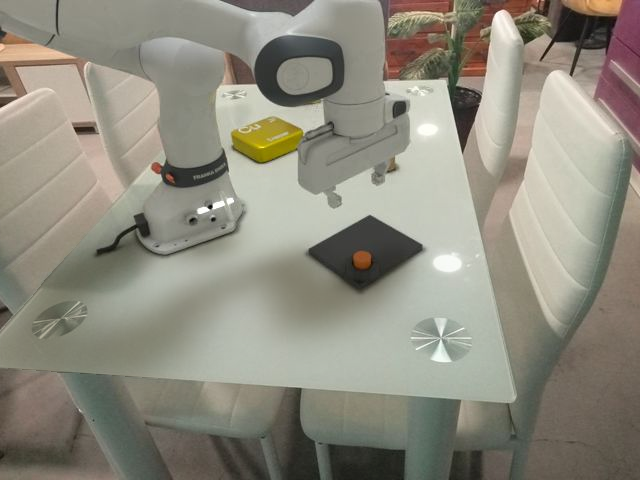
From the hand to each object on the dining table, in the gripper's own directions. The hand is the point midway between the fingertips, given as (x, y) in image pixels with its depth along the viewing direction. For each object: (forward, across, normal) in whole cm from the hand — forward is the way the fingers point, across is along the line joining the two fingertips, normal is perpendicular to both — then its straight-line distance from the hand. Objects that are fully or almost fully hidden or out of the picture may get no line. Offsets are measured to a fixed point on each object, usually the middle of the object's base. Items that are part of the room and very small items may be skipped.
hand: (357, 194), depth 77 cm
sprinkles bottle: (+16, +30, +23) cm, 41 cm away
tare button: (+13, -1, -2) cm, 13 cm away
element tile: (+16, +16, +54) cm, 58 cm away
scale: (+15, +4, +2) cm, 16 cm away
